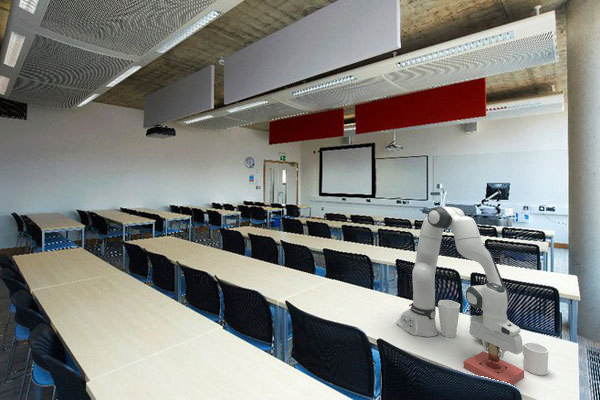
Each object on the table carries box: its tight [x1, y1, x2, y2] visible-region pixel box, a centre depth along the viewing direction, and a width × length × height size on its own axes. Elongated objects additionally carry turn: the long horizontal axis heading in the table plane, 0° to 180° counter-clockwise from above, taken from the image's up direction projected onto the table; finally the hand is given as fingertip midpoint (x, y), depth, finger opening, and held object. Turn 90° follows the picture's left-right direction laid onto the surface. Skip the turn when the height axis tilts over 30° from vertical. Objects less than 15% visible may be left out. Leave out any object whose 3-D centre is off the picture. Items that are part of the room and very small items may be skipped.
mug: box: [521, 342, 549, 376], centre depth 136 cm, size 12×8×10 cm
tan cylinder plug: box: [487, 343, 501, 362], centre depth 132 cm, size 4×4×7 cm
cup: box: [437, 299, 461, 339], centre depth 165 cm, size 11×10×17 cm
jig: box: [463, 351, 525, 386], centre depth 133 cm, size 17×15×3 cm
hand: (493, 353), depth 132 cm, fingers closed on tan cylinder plug, 4 cm apart
